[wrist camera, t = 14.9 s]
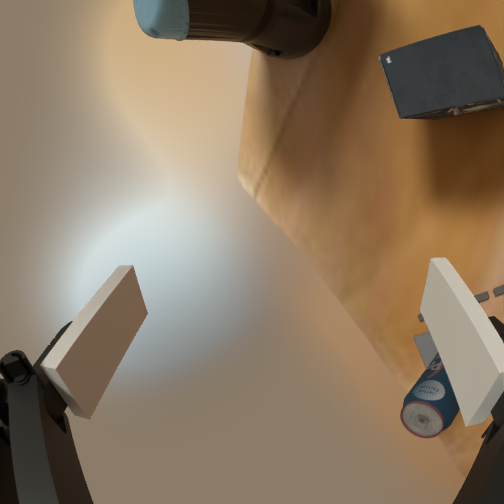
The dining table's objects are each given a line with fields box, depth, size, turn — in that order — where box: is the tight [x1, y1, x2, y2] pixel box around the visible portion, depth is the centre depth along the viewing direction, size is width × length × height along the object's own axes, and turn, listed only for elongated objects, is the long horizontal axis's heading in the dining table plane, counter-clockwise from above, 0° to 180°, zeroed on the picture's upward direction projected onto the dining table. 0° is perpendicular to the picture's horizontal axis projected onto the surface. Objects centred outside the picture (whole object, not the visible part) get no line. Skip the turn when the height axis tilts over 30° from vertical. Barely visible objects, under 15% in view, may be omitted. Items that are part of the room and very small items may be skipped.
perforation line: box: [418, 285, 504, 321], centre depth 33 cm, size 1×14×1 cm, turn 132°
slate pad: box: [414, 332, 438, 369], centre depth 35 cm, size 11×11×1 cm
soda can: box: [400, 352, 460, 438], centre depth 31 cm, size 7×7×12 cm
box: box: [379, 25, 504, 120], centre depth 22 cm, size 11×7×10 cm, turn 110°
